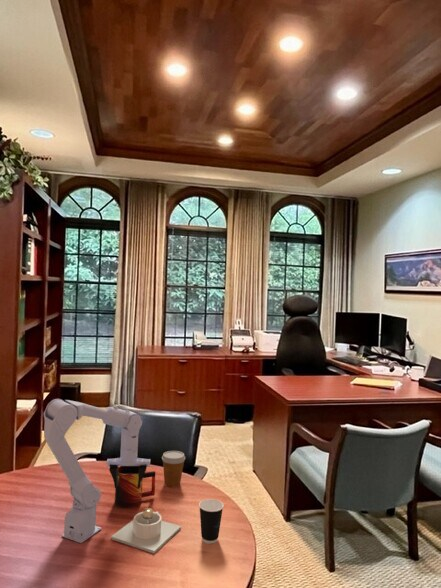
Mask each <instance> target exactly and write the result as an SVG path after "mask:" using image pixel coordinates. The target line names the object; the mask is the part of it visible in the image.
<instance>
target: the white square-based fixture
mask: <svg viewBox="0 0 441 588" xmlns="http://www.w3.org/2000/svg"><path fill="white" fill-rule="evenodd" d="M162 518H163V517H162V515H161V514H160V513H159V511H153V517H152V518H151V519H149V524H146V519H144V518H143V511H141V512H137V514H135V515H134V516H133V519H132V520H131V521H129V522H128V523H127V524H125V525H124V526H123V527H121V528H120V529H119V530H117V532H115V533H114V534H112V535H111V536H110V540H112V541H116V542H119V543H122V544H124V545H127V546H131V547H133V548H136V549H138V550H143V551H145V552H148V553H150V554H156V553H157V552H158V551H159V550H160V549H161V548H162V547H164V545H165V544H166V543H167V542H169V541H170V540H171V539H172V538H173V537H174V536H175V535H176V534H177V533H179V531H180V530H182V526H181V525H177V524H175V523H172V522H168V521H164V520H163V519H162Z"/></svg>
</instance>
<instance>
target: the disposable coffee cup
mask: <svg viewBox="0 0 441 588" xmlns="http://www.w3.org/2000/svg"><path fill="white" fill-rule="evenodd" d="M161 459H162V468H163V480H164V486H166V487H167V488H178V487H179V486H180V485H181V481H182V474H183V469H184V463H185V460H186V456H185V453H184V452H182V451H179V450H168V451H165V452H163V454H162V456H161Z"/></svg>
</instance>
